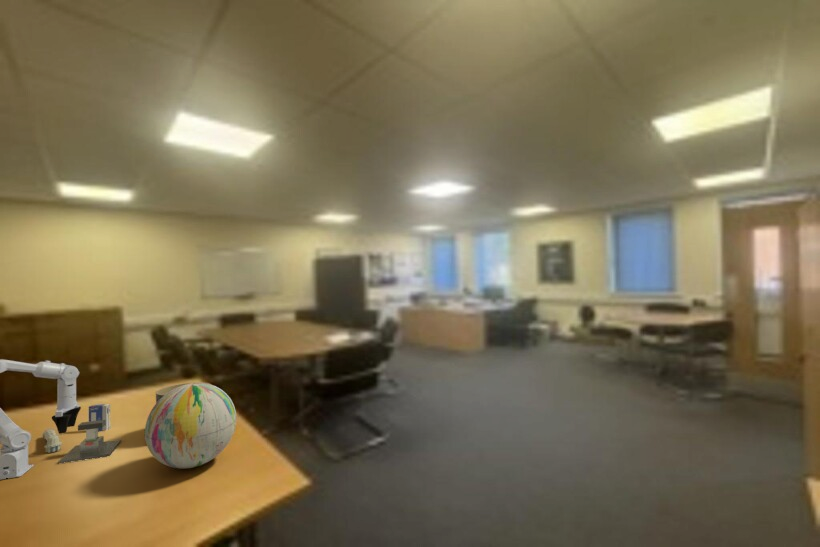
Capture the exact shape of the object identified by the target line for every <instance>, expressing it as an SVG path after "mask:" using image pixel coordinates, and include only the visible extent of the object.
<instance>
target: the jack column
mask: <svg viewBox="0 0 820 547" xmlns="http://www.w3.org/2000/svg"><path fill="white" fill-rule="evenodd" d="M105 425H106V420H98V421H90V422H89V421H85V422H80V423H79V424H78V425H77V431H78V432H79V431H85V439H86V442H89V441H96V440H97V439H98V437H99V431H98V428H102V427H104V426H105Z"/></svg>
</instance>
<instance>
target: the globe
mask: <svg viewBox="0 0 820 547" xmlns="http://www.w3.org/2000/svg"><path fill="white" fill-rule="evenodd" d="M189 383H190V384H186V385H182V386H180V387H177V388H175V389H173V390H171V391H170V392H168V393H167V394H165V395H164V396H163V397H162V398H161V399H160V400H159V401H158V402H157V403H156V402H155V404H154V406H153V407H152V409H151V410H150V412H149V413H148V416H147V419H146V421H145V422H146V423H145V428H144V439H145V443H146V445H147V450H148V451H149V453H150V454H151V455H152V457H153V458H154V459H156V460H157V461H158V462H159V463H161V464H163V465H165V466H167V467H170V468H174V469H192V468H196V467H200V466H203V465H205V464H206V463H208V462H210V461H212V460H214V459H215V458H216V457H217V456H218V455H220V454H221V453H222V451H224V450H225V448H227V446H228V444H230V442H231V439H232V437H233V435H234V432H235V430H236V427H237V426H236V425H237V412H236V411H237V410H236V408H235V405H234V403H233V400H232V399H231V397H230V396H229V395H228V393H226V392H225V391H224V390H223V389H221V388H220V387H218V386H216V385H213V384H211V383H209V384H207V383H208V382H202V383H196V382H189Z"/></svg>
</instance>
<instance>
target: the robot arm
mask: <svg viewBox="0 0 820 547" xmlns="http://www.w3.org/2000/svg"><path fill="white" fill-rule="evenodd" d="M5 371H12V372H23V373H31V374H32V375H33V376H34V377H36V378H43V379H53V380H56V379H57V386H56V387H57V389H56V390H57V396H56V399H57V401H56V403H57V404H56V405H57V406H56V410H55V412H54V413H55V415H53V416H51V420H52V421H53V422H54V424H55V427H56V428H57V432H58V434H66V433H67V431H68V428H70V427H75V426H76V422H77V417H78V415H79V412H80V411H81V409H82V406H81V405H80V404H78V401H77V378H78V377H79V375H80V371H79V369H78V368H77V367H76V366H74V365H69V364H66V363H63V362H61V363H55V362H51V360H44V361H39V362H38V363H29V362H23V361H17V360H16V361H15V360H8V359H4V358H1V359H0V374H2V373H4V372H5ZM31 439H32V434H31V433H30V432H29V431H28V430H24V429H22V428H21V427H20V426H19V425H17V424H16V423H15V422H14V421H13V420H12V419H11V418H10V417H9V416H8V415H7V414H6V412H5V411H4V410H3V409H2V408H1V407H0V444H1V448H0V480H7V479H6V478H8V479H12V478H19V477H22V476H23V475H24V474H25V473H27V471H29V470H30V469H32V468H33V467H34V466H35V465H34V464H29V444H30V442H31Z"/></svg>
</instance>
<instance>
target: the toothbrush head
mask: <svg viewBox="0 0 820 547" xmlns="http://www.w3.org/2000/svg"><path fill="white" fill-rule="evenodd" d="M42 439H43V440H45V439H46V444H45V445H44V449H45V453H46V454H47V453H49V454H51V453H54V452H57V451H58V452H59V451H60V450H61V449H62V444H63V442H62V441H60V436H59V435H57V431H56V430H55V429H53V428H49V429H46V430H44V431H43V433H42Z"/></svg>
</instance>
